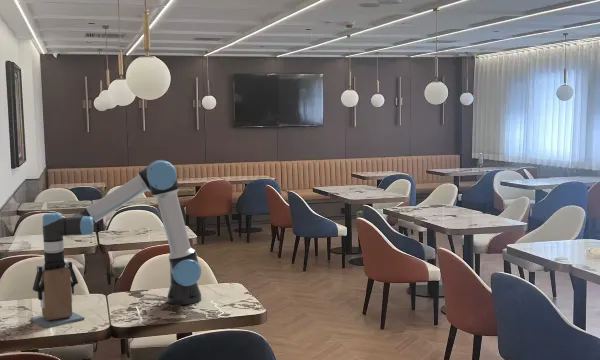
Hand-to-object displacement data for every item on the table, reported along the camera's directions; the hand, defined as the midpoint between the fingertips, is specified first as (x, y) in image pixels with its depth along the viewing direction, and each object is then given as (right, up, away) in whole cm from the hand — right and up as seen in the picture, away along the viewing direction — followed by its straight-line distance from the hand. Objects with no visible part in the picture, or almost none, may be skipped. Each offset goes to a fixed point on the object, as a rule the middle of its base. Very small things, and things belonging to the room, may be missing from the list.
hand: (56, 304), depth 271 cm
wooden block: (0, -5, 0) cm, 5 cm away
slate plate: (0, -6, 0) cm, 6 cm away
